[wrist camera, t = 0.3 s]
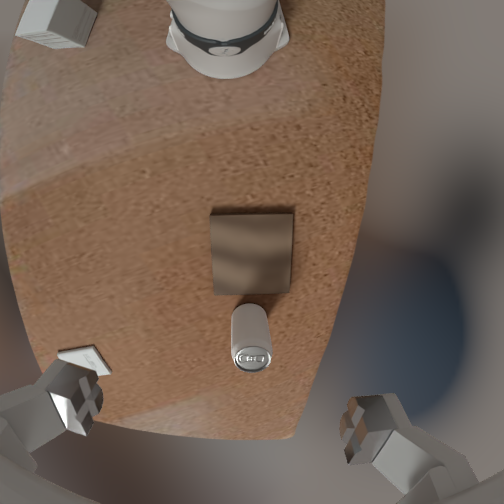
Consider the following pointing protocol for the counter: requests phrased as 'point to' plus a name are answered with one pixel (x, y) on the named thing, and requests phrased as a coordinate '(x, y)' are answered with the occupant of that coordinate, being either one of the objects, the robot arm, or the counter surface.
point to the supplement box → (57, 23)
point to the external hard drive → (86, 359)
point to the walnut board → (251, 253)
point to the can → (250, 338)
